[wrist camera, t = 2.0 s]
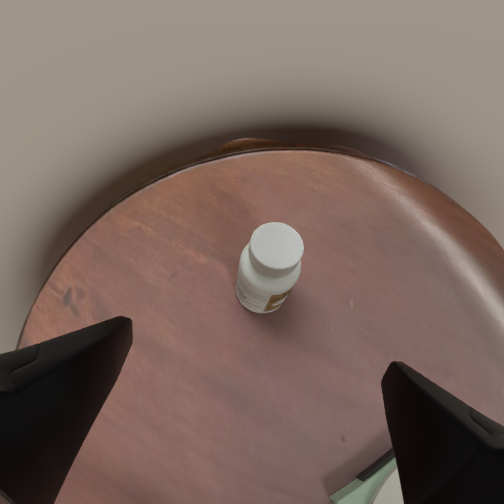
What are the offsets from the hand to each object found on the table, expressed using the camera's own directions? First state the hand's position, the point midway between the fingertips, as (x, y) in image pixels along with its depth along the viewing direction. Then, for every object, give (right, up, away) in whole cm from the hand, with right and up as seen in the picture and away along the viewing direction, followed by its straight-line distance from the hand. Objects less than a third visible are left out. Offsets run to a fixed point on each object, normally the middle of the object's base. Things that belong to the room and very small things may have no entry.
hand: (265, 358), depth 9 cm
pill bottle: (0, 0, +16) cm, 16 cm away
